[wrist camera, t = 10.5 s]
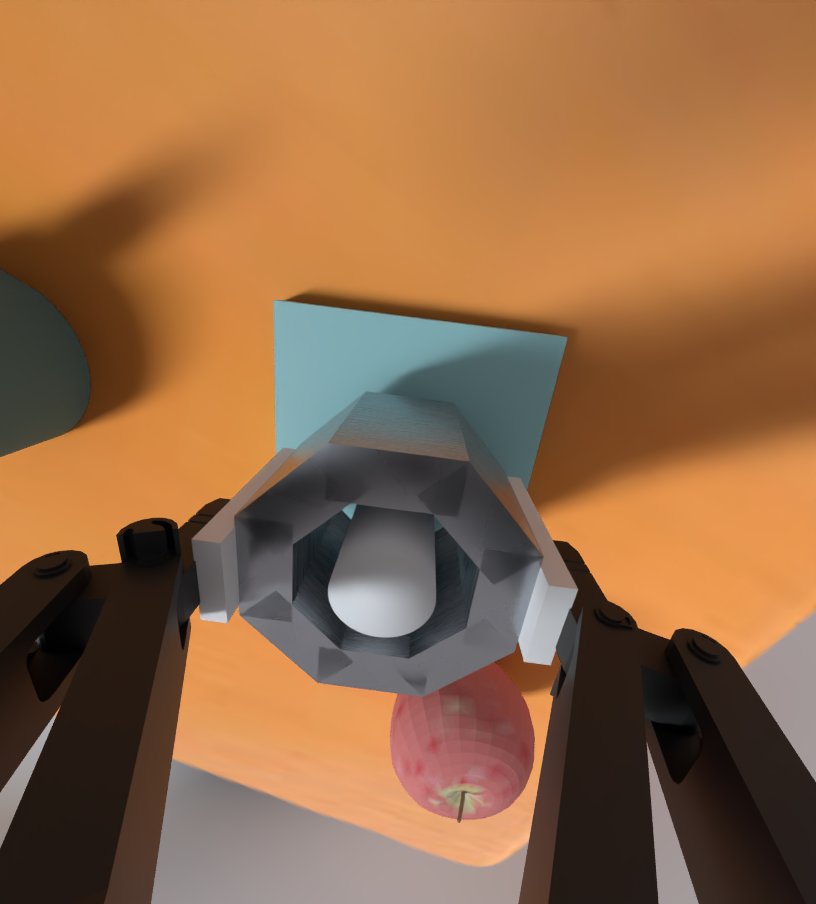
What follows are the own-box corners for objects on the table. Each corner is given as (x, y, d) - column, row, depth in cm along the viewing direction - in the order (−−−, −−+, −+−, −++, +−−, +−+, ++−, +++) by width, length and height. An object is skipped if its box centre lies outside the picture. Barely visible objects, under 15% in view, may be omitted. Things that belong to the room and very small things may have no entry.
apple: (377, 678, 25) (355, 840, 17) (427, 601, 22) (427, 752, 15) (476, 716, 26) (496, 885, 18) (536, 646, 23) (587, 811, 16)
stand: (284, 300, 16) (125, 296, 8) (558, 335, 16) (700, 370, 8) (285, 561, 22) (191, 731, 13) (493, 588, 21) (536, 777, 13)
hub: (303, 382, 15) (228, 429, 9) (516, 410, 15) (569, 474, 9) (300, 558, 18) (243, 672, 12) (476, 581, 18) (498, 706, 12)
